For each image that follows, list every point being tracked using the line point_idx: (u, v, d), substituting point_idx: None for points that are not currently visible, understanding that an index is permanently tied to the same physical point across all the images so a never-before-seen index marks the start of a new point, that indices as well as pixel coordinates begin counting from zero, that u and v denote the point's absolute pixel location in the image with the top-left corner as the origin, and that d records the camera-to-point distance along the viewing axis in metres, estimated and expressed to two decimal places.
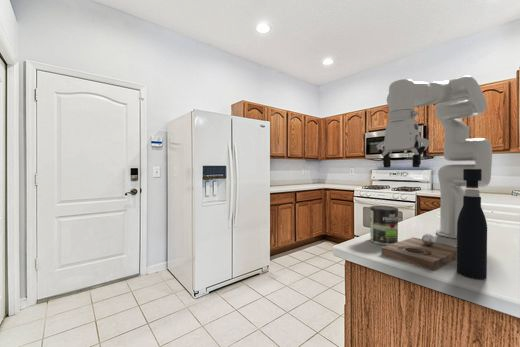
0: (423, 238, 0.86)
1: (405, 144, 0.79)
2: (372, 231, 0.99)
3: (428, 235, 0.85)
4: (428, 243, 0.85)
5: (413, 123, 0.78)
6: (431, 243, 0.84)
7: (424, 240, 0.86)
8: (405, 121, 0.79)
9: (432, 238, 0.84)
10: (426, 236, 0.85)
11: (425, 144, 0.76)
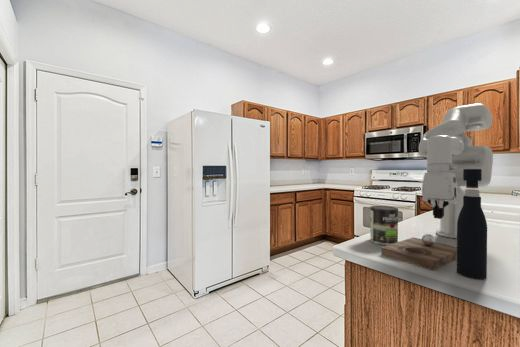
0: (423, 238, 0.86)
1: (444, 195, 0.86)
2: (372, 231, 0.99)
3: (428, 235, 0.85)
4: (428, 243, 0.85)
5: (452, 176, 0.85)
6: (431, 243, 0.84)
7: (424, 240, 0.86)
8: (444, 174, 0.86)
9: (432, 238, 0.84)
10: (426, 236, 0.85)
11: (450, 202, 0.86)
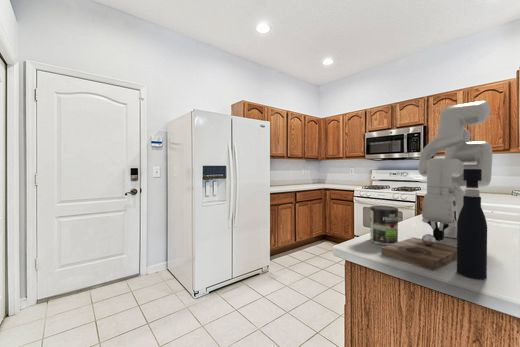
0: (423, 238, 0.86)
1: (444, 218, 0.87)
2: (372, 231, 0.99)
3: (428, 235, 0.85)
4: (428, 243, 0.85)
5: (452, 200, 0.86)
6: (431, 243, 0.84)
7: (424, 240, 0.86)
8: (444, 197, 0.87)
9: (432, 238, 0.84)
10: (426, 236, 0.85)
11: (450, 225, 0.86)
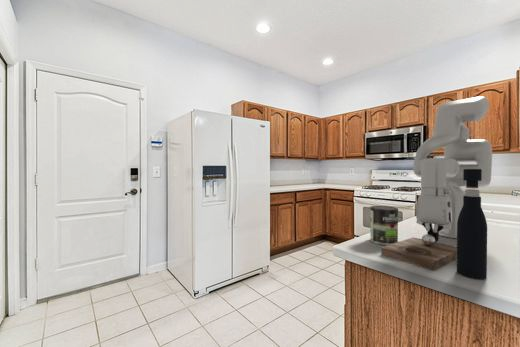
0: (423, 238, 0.86)
1: (438, 220, 0.84)
2: (372, 231, 0.99)
3: (428, 235, 0.85)
4: (428, 243, 0.85)
5: (446, 201, 0.83)
6: (431, 243, 0.84)
7: (424, 240, 0.85)
8: (438, 198, 0.84)
9: (432, 238, 0.84)
10: (426, 236, 0.85)
11: (445, 227, 0.84)
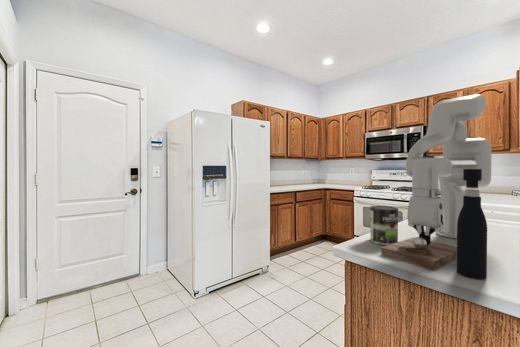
0: None
1: (430, 223, 0.81)
2: (372, 231, 0.99)
3: (418, 247, 0.82)
4: None
5: (438, 203, 0.80)
6: None
7: None
8: (430, 200, 0.81)
9: (423, 247, 0.81)
10: (418, 248, 0.82)
11: (437, 230, 0.81)
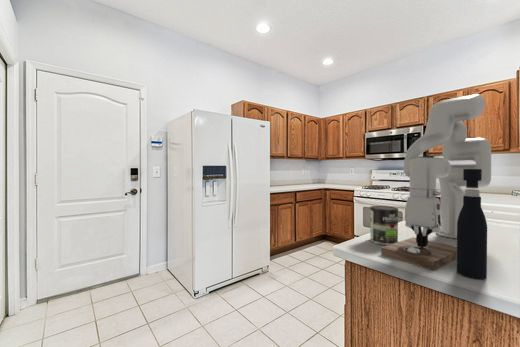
0: None
1: (427, 223, 0.80)
2: (372, 231, 0.99)
3: None
4: (415, 247, 0.80)
5: (435, 203, 0.79)
6: (417, 249, 0.79)
7: None
8: (427, 200, 0.80)
9: None
10: None
11: (434, 231, 0.80)
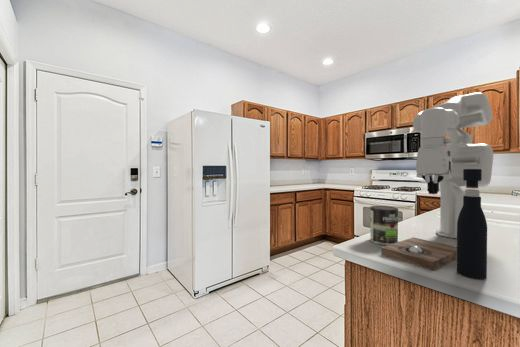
0: None
1: (438, 170, 0.84)
2: (372, 231, 0.99)
3: None
4: (419, 247, 0.81)
5: (446, 150, 0.83)
6: (420, 249, 0.80)
7: None
8: (438, 148, 0.84)
9: None
10: None
11: (445, 177, 0.84)
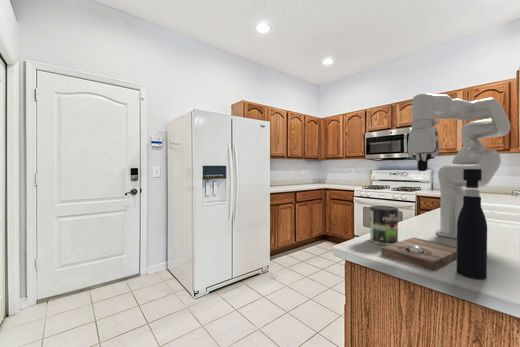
0: None
1: (427, 148, 0.94)
2: (372, 231, 0.99)
3: None
4: (419, 247, 0.81)
5: (434, 130, 0.93)
6: (421, 249, 0.80)
7: None
8: (427, 129, 0.94)
9: None
10: None
11: (433, 155, 0.93)
